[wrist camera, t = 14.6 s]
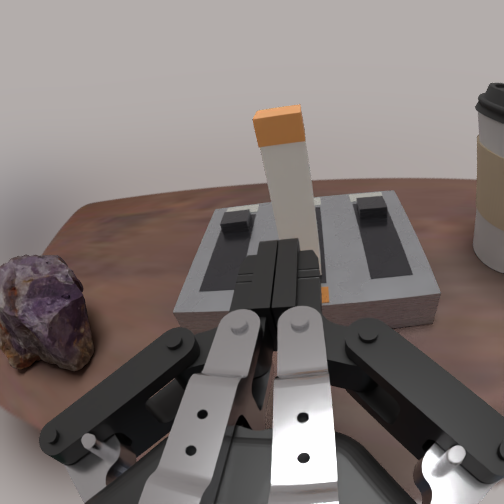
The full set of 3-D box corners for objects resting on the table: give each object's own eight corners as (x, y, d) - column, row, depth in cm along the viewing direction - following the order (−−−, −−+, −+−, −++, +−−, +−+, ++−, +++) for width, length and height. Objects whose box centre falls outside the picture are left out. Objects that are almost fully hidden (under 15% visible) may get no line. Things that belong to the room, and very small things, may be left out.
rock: (84, 400, 21) (126, 311, 29) (27, 339, 16) (94, 241, 24) (2, 365, 23) (45, 296, 31) (-46, 308, 18) (11, 236, 25)
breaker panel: (393, 216, 30) (393, 181, 28) (432, 323, 19) (443, 281, 17) (222, 233, 34) (212, 200, 32) (187, 338, 24) (167, 302, 21)
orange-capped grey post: (321, 255, 23) (300, 104, 17) (322, 275, 21) (300, 112, 15) (287, 258, 24) (257, 110, 17) (285, 278, 22) (252, 119, 16)
